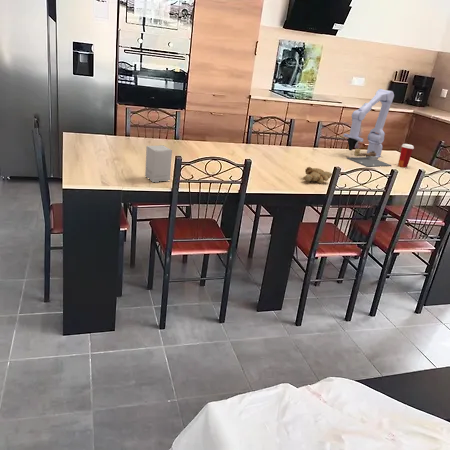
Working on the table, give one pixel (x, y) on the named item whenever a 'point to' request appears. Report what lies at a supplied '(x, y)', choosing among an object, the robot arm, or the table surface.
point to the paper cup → (405, 155)
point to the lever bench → (369, 161)
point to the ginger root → (316, 175)
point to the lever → (357, 153)
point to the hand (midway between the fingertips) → (350, 150)
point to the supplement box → (158, 163)
